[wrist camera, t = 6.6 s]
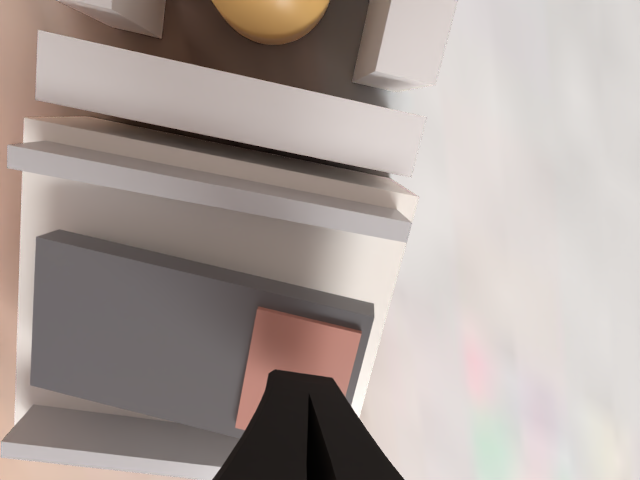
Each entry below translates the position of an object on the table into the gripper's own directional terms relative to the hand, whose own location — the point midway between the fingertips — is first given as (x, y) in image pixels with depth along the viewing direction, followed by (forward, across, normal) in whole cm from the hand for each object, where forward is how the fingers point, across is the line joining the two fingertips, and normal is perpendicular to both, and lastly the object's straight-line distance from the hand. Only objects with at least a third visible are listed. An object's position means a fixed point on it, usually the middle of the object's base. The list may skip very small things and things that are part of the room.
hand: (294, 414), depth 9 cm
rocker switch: (+2, +2, 0) cm, 3 cm away
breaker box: (+7, +2, 0) cm, 7 cm away
